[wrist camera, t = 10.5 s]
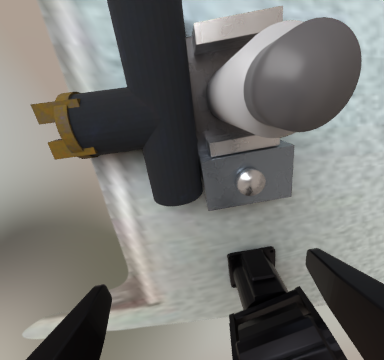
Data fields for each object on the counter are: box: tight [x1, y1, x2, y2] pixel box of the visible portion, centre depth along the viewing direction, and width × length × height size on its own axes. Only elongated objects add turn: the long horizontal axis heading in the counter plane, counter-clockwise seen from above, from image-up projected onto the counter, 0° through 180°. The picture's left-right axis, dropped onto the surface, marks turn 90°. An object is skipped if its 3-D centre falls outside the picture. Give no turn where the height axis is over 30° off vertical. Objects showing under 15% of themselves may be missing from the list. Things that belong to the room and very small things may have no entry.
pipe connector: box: [31, 0, 203, 206], centre depth 15 cm, size 12×5×15 cm
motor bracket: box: [186, 6, 294, 211], centre depth 16 cm, size 15×8×5 cm, turn 10°
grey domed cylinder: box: [206, 17, 361, 138], centre depth 12 cm, size 5×5×11 cm
